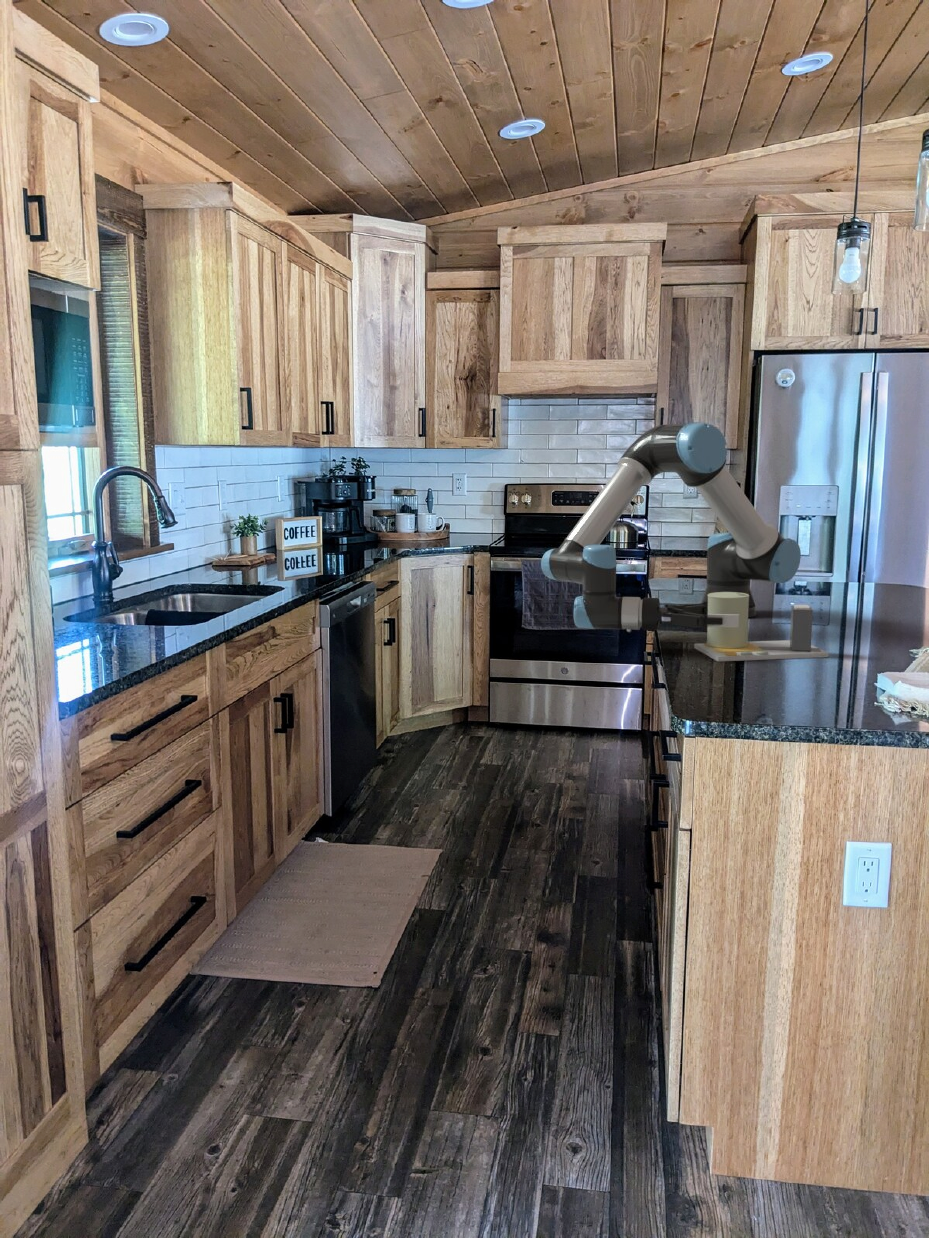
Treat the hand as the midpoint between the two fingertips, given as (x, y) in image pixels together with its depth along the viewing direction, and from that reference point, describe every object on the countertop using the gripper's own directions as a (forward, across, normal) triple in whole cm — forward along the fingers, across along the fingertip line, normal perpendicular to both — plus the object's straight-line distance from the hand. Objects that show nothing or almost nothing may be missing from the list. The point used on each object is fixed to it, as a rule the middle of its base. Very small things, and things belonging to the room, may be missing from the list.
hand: (737, 615), depth 212 cm
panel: (+5, 0, -8) cm, 10 cm away
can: (-2, -2, -7) cm, 8 cm away
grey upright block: (+13, 0, -7) cm, 15 cm away
